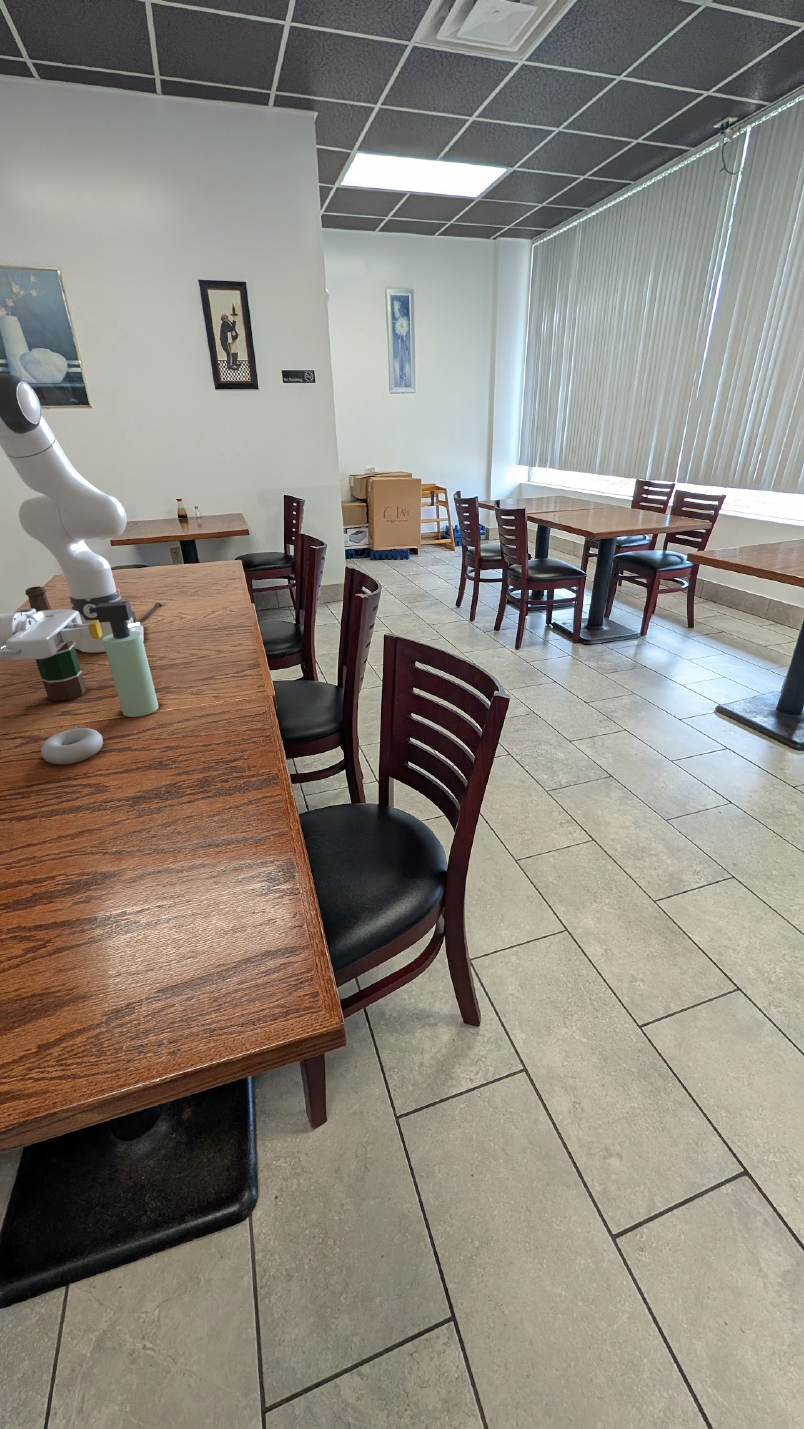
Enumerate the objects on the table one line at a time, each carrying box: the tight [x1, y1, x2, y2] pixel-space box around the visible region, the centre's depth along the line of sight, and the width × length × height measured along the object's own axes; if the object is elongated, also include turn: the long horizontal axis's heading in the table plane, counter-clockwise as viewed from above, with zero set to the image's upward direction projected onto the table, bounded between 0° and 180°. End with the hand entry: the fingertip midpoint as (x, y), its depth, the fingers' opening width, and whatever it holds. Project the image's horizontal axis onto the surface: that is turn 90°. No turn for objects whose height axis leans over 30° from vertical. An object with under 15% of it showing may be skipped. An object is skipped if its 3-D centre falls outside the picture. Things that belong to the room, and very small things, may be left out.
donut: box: [40, 727, 104, 766], centre depth 105 cm, size 10×4×10 cm
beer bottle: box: [25, 585, 87, 702], centre depth 125 cm, size 8×8×24 cm
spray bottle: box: [89, 600, 159, 718], centre depth 117 cm, size 7×8×22 cm
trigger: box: [89, 620, 102, 639], centre depth 114 cm, size 2×1×3 cm, turn 11°
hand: (92, 630), depth 113 cm, fingers closed, pressing on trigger
